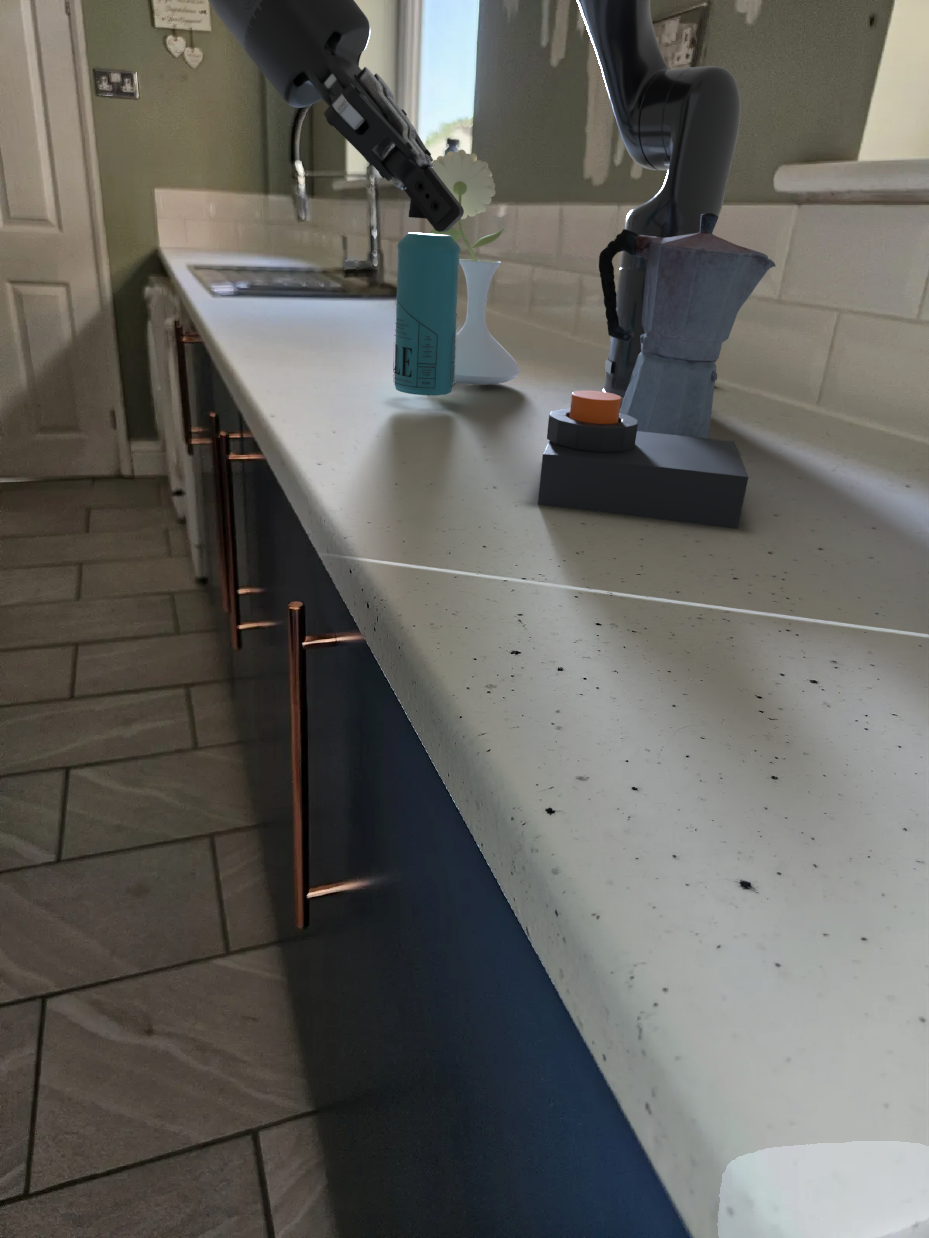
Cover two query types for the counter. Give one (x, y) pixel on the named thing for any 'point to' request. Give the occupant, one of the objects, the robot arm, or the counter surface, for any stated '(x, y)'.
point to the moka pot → (681, 322)
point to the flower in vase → (474, 274)
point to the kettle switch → (595, 407)
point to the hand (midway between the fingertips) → (452, 223)
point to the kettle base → (641, 472)
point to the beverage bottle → (426, 312)
